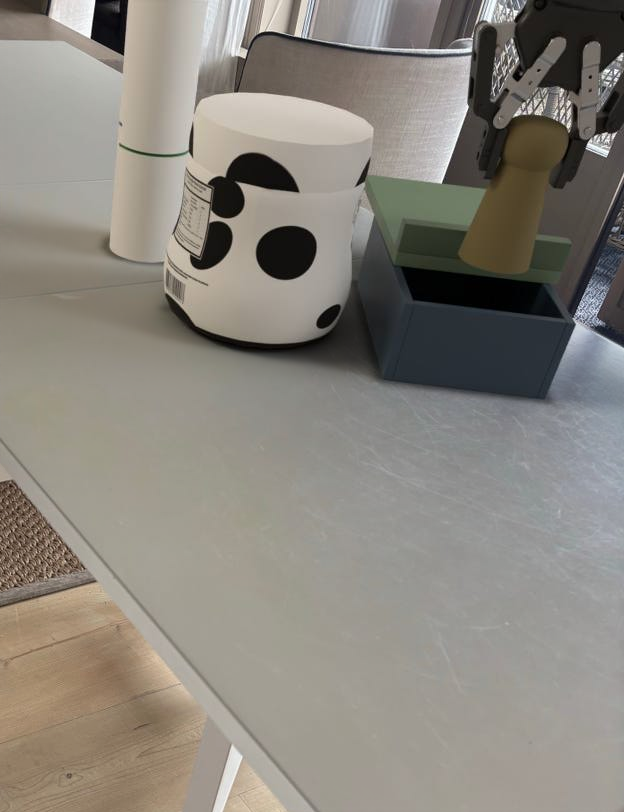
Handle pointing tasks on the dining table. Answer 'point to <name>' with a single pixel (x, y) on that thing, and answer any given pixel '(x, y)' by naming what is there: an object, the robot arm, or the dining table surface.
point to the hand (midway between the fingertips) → (520, 180)
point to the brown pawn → (515, 196)
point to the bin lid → (446, 228)
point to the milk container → (267, 219)
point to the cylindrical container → (155, 123)
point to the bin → (461, 326)
